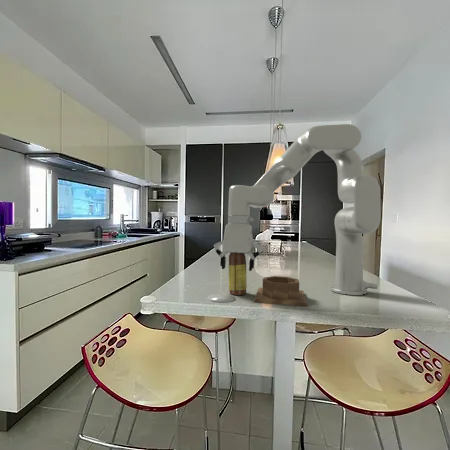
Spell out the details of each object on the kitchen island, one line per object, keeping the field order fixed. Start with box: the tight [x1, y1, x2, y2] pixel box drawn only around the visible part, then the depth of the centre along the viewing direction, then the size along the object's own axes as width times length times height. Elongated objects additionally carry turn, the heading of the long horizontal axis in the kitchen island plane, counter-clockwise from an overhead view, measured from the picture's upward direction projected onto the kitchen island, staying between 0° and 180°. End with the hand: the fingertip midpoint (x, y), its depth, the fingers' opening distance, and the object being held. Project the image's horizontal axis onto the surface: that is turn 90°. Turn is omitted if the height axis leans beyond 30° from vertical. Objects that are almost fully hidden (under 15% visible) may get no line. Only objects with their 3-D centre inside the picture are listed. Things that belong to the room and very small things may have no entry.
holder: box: [254, 275, 308, 307], centre depth 97 cm, size 16×16×6 cm
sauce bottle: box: [228, 252, 248, 296], centre depth 100 cm, size 6×6×20 cm
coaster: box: [207, 293, 236, 304], centre depth 94 cm, size 9×9×1 cm
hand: (236, 269), depth 100 cm, fingers open, 9 cm apart
